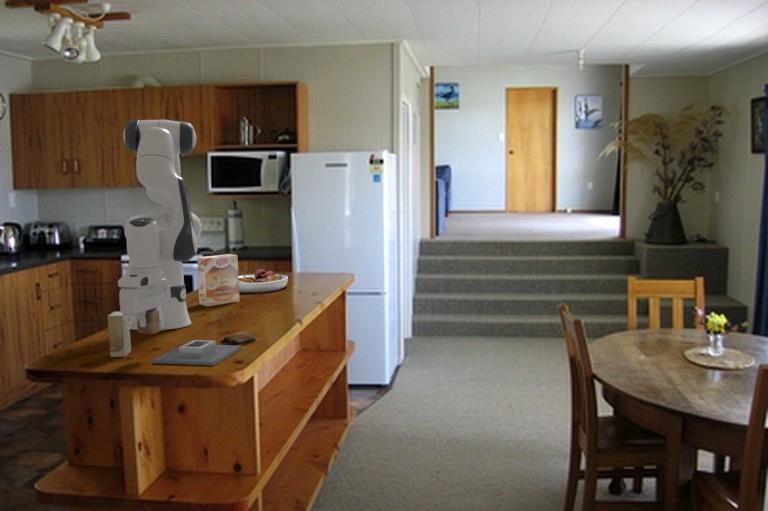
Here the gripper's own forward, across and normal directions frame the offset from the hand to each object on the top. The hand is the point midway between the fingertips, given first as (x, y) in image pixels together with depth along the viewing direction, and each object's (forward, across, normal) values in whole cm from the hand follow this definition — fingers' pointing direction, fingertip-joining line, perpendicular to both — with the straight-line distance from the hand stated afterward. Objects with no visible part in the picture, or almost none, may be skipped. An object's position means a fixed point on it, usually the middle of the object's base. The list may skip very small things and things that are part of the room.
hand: (148, 324), depth 190 cm
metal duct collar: (+9, -3, +14) cm, 17 cm away
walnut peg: (+2, 0, 0) cm, 2 cm away
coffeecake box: (+11, -82, -19) cm, 85 cm away
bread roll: (+10, -20, +18) cm, 29 cm away
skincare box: (+10, -2, -10) cm, 14 cm away
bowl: (+12, -120, -19) cm, 122 cm away
